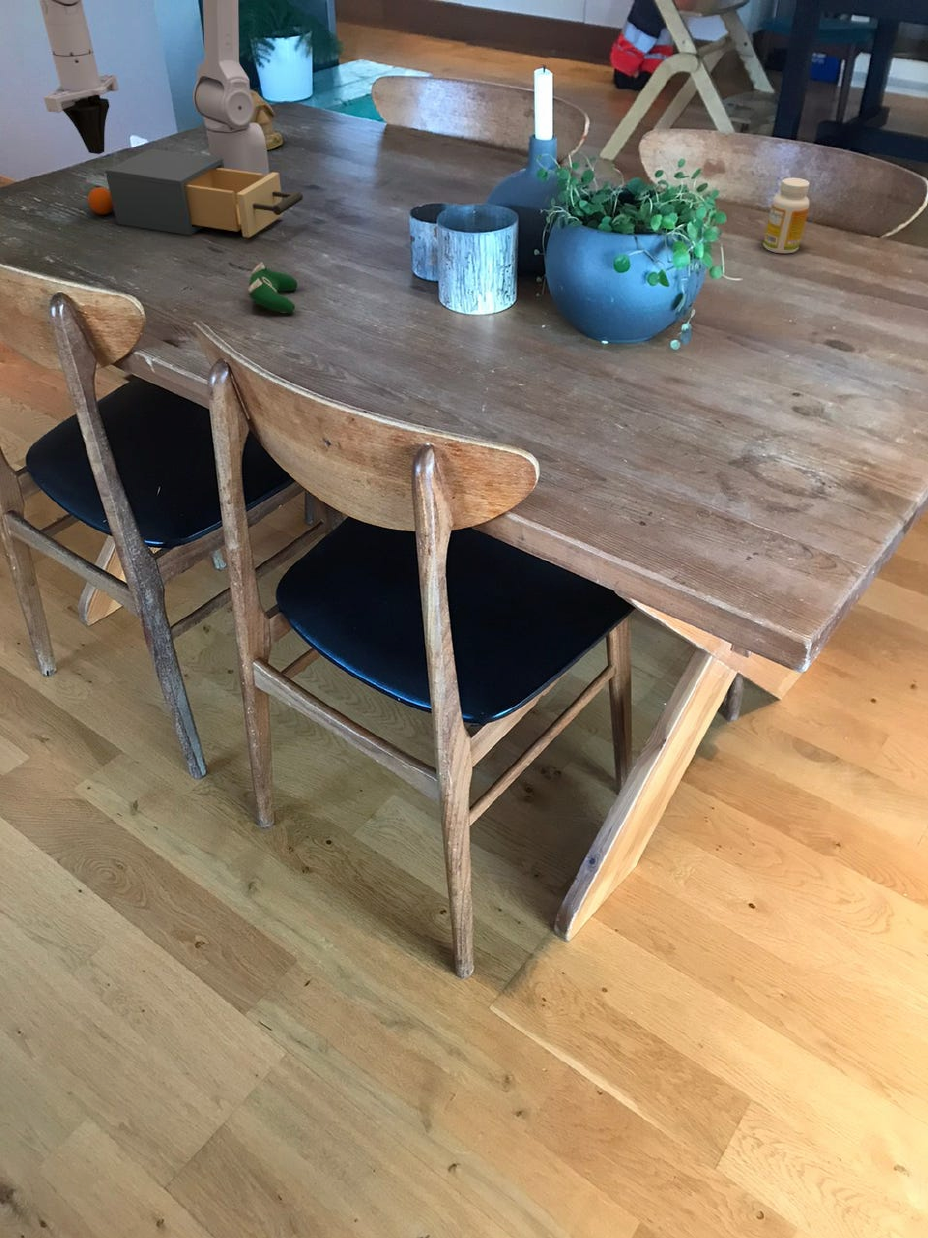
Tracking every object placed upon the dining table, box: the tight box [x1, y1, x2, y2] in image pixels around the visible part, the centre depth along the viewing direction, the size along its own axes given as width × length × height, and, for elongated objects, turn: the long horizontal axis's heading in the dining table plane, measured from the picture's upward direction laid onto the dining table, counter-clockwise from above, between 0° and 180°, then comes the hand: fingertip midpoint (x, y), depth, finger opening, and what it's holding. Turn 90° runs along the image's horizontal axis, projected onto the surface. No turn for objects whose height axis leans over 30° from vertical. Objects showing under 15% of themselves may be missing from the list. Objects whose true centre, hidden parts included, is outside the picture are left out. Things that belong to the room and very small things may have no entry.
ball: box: [88, 186, 114, 215], centre depth 150 cm, size 4×4×4 cm
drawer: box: [184, 167, 303, 238], centre depth 145 cm, size 17×11×6 cm, turn 69°
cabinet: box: [104, 148, 224, 236], centre depth 148 cm, size 14×12×8 cm
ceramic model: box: [249, 85, 283, 151], centre depth 178 cm, size 14×11×10 cm
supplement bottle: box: [762, 177, 811, 254], centre depth 140 cm, size 5×5×10 cm
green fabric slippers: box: [247, 261, 298, 315], centre depth 126 cm, size 9×4×6 cm
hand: (96, 152), depth 145 cm, fingers closed
